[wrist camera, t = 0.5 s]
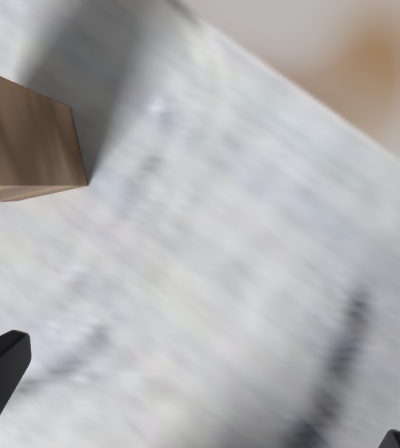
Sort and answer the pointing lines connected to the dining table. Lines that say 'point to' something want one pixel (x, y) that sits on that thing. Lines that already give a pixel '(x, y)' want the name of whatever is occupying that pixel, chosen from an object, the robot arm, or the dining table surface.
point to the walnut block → (36, 145)
